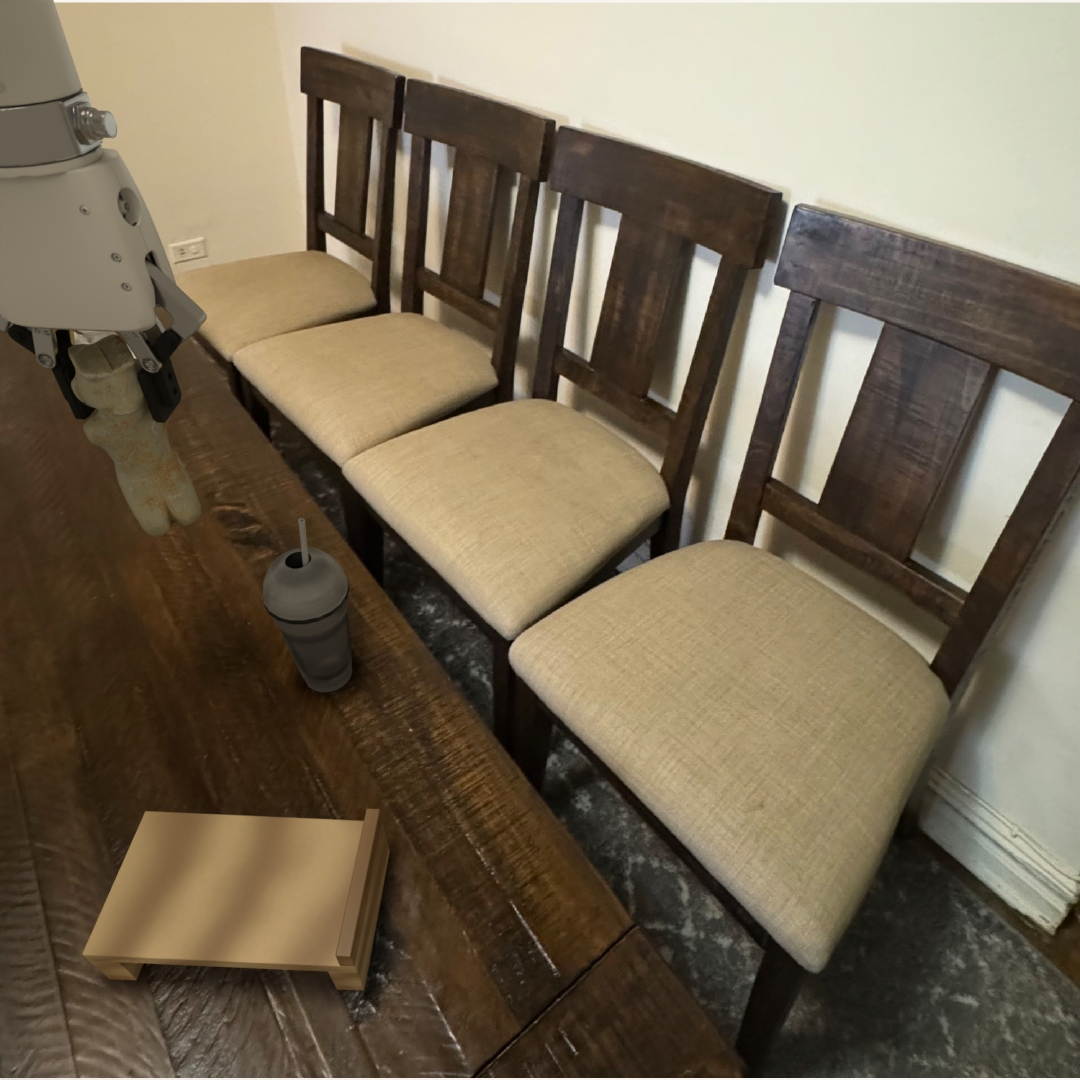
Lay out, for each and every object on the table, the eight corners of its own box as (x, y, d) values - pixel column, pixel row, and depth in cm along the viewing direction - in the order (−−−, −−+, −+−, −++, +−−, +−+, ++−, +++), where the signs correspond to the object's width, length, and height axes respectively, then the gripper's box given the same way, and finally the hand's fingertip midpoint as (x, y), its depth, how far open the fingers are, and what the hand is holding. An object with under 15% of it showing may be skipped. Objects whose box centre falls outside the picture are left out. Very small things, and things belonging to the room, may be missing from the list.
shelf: (108, 979, 52) (68, 944, 47) (165, 840, 59) (136, 797, 55) (364, 991, 52) (350, 956, 47) (389, 850, 59) (379, 808, 55)
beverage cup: (306, 639, 75) (261, 484, 61) (376, 648, 74) (347, 494, 61) (277, 699, 69) (221, 544, 56) (352, 709, 69) (314, 555, 55)
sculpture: (138, 551, 57) (52, 378, 46) (121, 499, 61) (39, 331, 51) (216, 525, 59) (151, 355, 49) (194, 476, 63) (130, 311, 53)
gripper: (197, 120, 44) (263, 388, 56) (-91, 106, 44) (38, 379, 56) (146, 157, 38) (231, 446, 51) (-185, 141, 38) (-19, 435, 51)
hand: (128, 408), depth 53 cm, fingers closed on sculpture, 4 cm apart
